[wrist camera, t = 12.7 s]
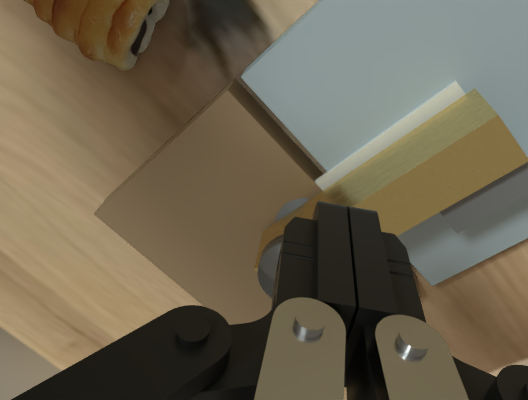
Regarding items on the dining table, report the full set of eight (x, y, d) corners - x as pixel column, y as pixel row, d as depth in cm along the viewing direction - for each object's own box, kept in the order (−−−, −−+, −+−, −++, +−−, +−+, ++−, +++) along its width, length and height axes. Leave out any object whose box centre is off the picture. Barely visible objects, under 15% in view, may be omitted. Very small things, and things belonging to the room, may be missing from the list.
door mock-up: (107, 197, 34) (68, 244, 29) (489, -158, 21) (539, -185, 16) (280, 345, 41) (273, 405, 36) (661, 145, 27) (737, 195, 22)
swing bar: (300, 268, 32) (295, 320, 28) (252, 221, 30) (239, 269, 26) (511, 141, 25) (548, 185, 21) (464, 73, 24) (493, 106, 19)
